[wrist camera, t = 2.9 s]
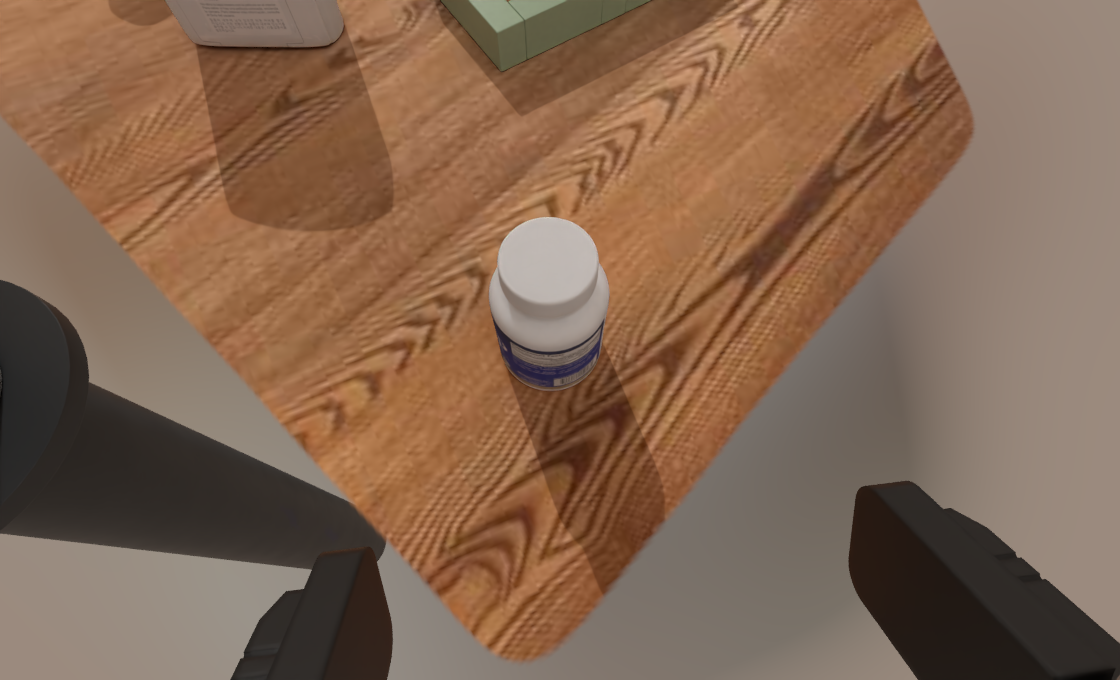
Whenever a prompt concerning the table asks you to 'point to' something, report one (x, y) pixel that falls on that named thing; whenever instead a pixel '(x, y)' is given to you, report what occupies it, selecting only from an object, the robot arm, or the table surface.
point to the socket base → (531, 24)
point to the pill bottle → (549, 303)
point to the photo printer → (259, 22)
